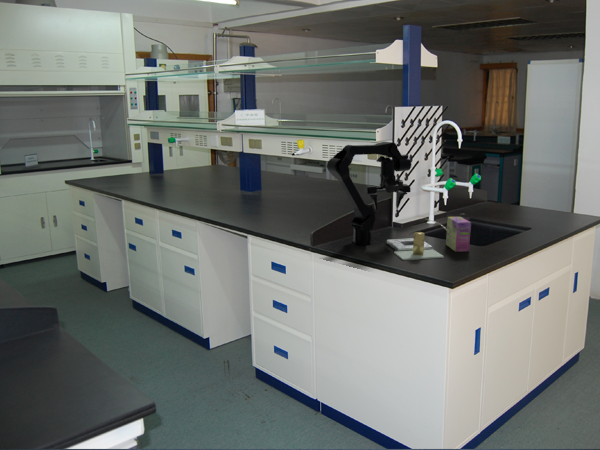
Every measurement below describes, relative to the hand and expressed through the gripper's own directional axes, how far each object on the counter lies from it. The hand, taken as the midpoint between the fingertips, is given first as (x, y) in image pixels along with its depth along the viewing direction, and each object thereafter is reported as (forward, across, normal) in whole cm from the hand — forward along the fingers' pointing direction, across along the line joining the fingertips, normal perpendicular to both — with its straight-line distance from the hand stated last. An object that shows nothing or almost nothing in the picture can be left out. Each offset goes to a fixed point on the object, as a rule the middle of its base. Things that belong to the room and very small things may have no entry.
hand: (386, 209), depth 220 cm
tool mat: (+13, +4, -26) cm, 30 cm away
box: (+13, +23, -20) cm, 33 cm away
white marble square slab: (+13, +5, -14) cm, 20 cm away
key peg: (+12, +4, -26) cm, 29 cm away
